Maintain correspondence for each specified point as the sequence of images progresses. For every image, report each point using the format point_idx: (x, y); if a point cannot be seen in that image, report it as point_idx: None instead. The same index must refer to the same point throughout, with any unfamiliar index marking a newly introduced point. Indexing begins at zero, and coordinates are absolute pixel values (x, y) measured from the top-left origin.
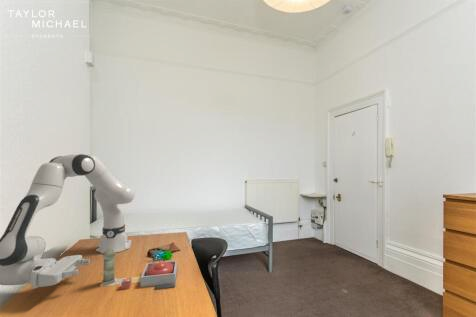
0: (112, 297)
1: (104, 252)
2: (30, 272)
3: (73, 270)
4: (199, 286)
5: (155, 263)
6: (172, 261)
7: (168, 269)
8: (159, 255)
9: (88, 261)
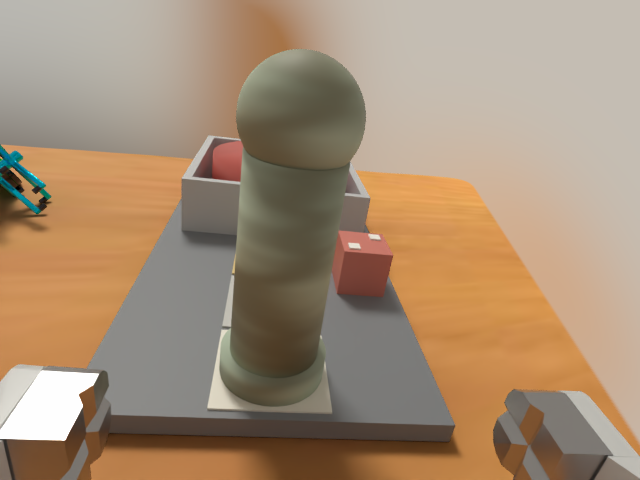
0: (440, 335)
1: (325, 84)
2: None
3: (615, 440)
4: None
5: (220, 159)
6: (211, 140)
7: None
8: (18, 163)
9: (93, 376)
